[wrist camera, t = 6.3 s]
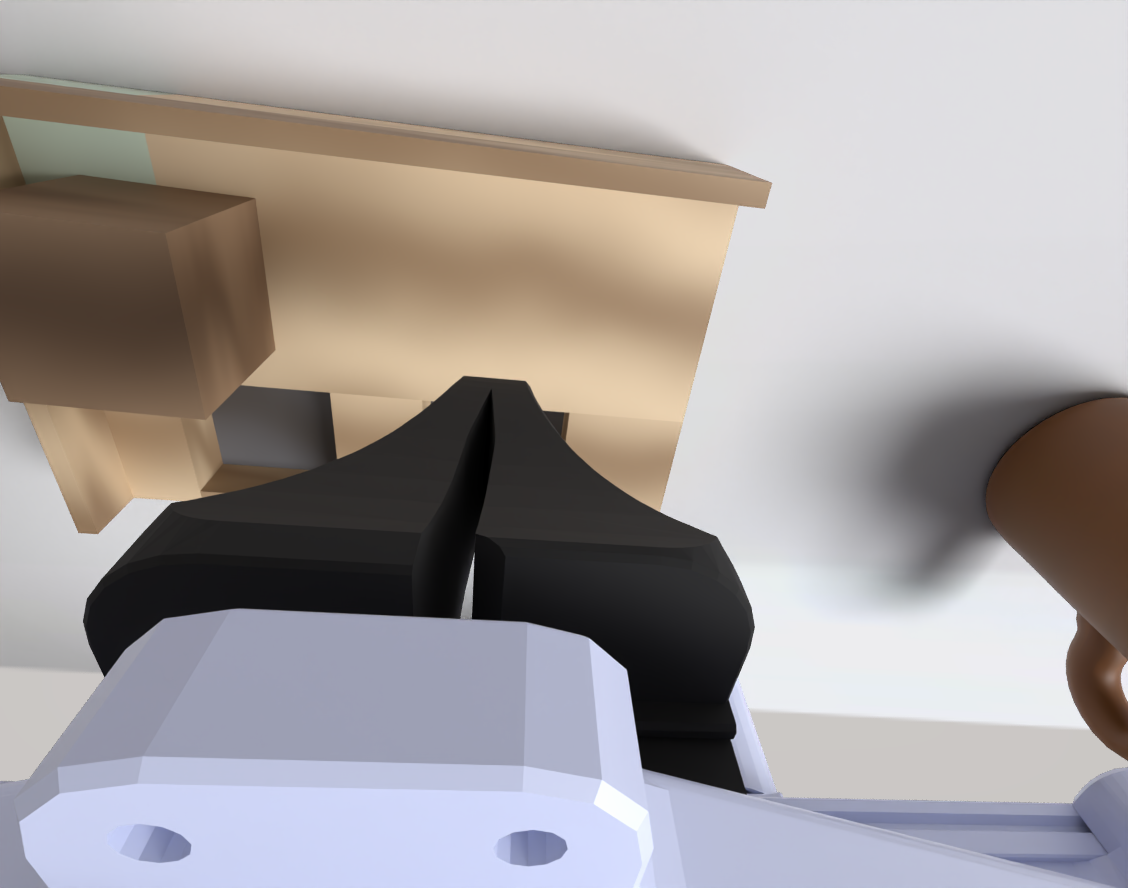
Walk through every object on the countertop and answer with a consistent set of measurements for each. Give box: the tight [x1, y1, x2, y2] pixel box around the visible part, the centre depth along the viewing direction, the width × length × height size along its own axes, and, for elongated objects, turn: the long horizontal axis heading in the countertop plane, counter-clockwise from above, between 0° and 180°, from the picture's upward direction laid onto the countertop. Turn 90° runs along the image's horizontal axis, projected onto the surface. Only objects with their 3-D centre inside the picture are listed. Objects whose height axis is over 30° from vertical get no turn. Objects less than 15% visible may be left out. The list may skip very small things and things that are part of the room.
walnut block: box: [0, 175, 276, 420], centre depth 15 cm, size 4×4×4 cm
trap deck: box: [0, 74, 772, 534], centre depth 18 cm, size 13×20×4 cm, turn 83°
